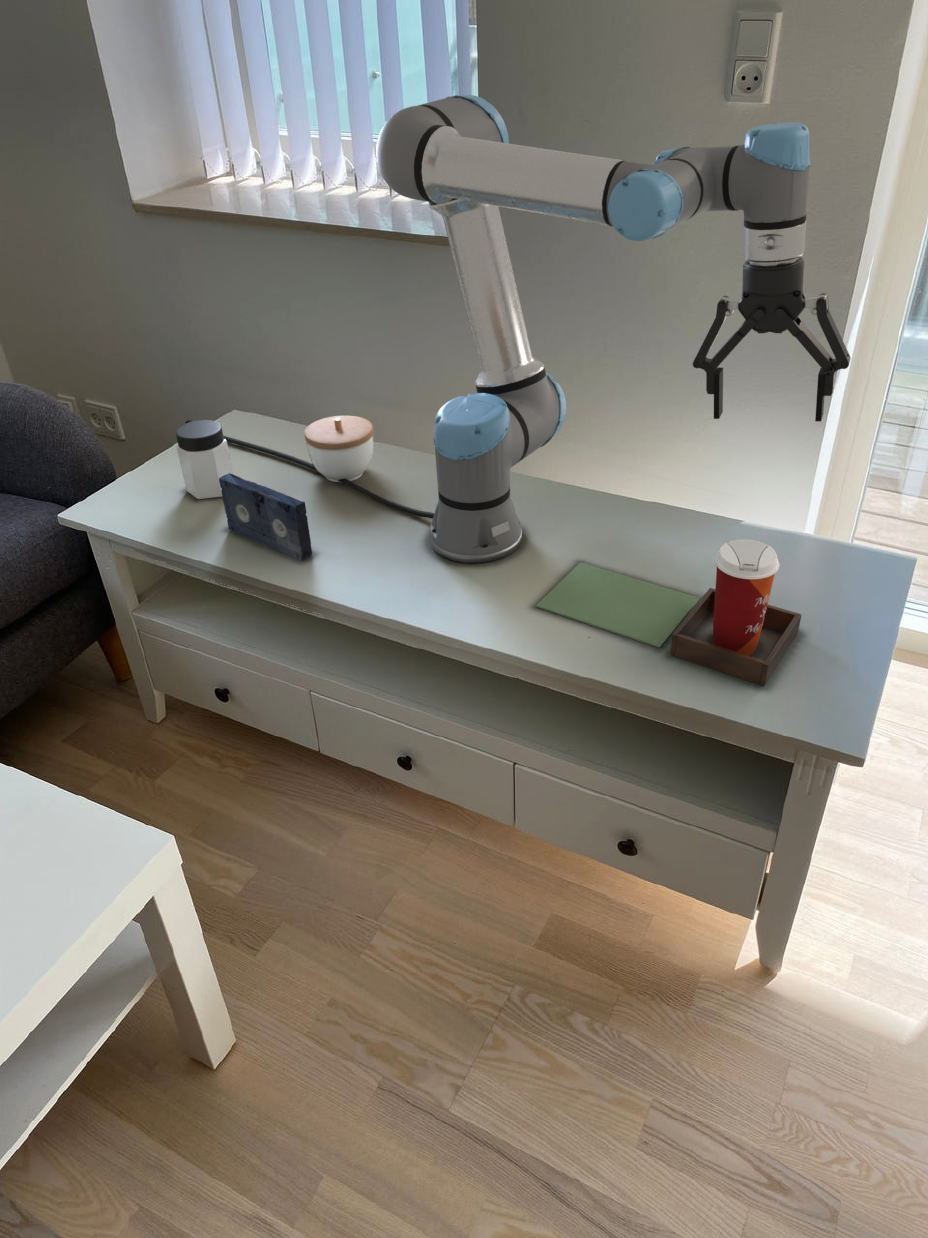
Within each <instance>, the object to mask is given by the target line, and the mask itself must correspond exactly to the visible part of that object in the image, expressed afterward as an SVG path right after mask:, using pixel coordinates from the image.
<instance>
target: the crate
mask: <svg viewBox="0 0 928 1238" xmlns="http://www.w3.org/2000/svg"><path fill="white" fill-rule="evenodd" d="M714 604H715V588H713V587H709V588H708V589H707V591H706V592H705V593H704V594H703V596H702V597H701V598H700V599H699V600H698V602H697V603H696V604H695V605H694V607H693V608H692V609H691V610H690V612H689V613H688V614H687V615H686V617H685V618H684V619H683V620H682V621H681V623H680V624H679V625H678V626H677V628H676V629H675V630H674V631H673V633H672V634H671V641H670V642H671V643H670V651H669V655H670V656H673V657H675V658H679V659H682V660H685V661H687V662H691V663H693V664H696V665H700V666H703V667H706V668H709V669H712V670H715V671H718V672H720V673H724V674H727V675H730V676H733V677H737V678H739V679H742V680H745V681H749V682H750V683H754V684H757V685H760V686H763V687H765V686H766V685H767V683H768V681H769V680H770V679H771V678H772V676H773V674H774V672H775V670H777V667H778V666H779V664H780V663H781V661H782V660H783V658H784V657H785V655H786V654H787V652H788V651H789V649H790V647H791V646H792V644H793V643H794V642H795V639H796V638H797V637H798V635H799V630H800V625H801V620H802V613H798V612H795V611H791V610H788V609H785V608H781V607H778V606H776V605H775V606H774V605H772V604H768V605H767V609H766V613H765V617H764V621H763V625H762V628H764V629H765V628H766V629H769V630H772V631H776V632H779V633H782V634H781V636H780V637H779V638H778V641H777V642H776V643H775V645H774V646H773V648H772V650H771V651H770V653H769V655H768V656H767V657H766V659H765V660H763V659H760V658H757V657H753V656H751V655H749V656H747V655H744V654H741V653H738V652H735V651H732V650H729V649H726V648H722V647H719V646H716V645H713V643H709V642H707V641H703V640H701V639H697V638H694V637H692V634H693V633H694V632H695V630H697V628H698V627H699V626H700V624H701V623H702V622H703V620H704V619H705V618H706V617H707V616H708V614H709V613H710V612H713V613H714Z"/></svg>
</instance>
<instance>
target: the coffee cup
mask: <svg viewBox="0 0 928 1238" xmlns="http://www.w3.org/2000/svg"><path fill="white" fill-rule="evenodd" d="M714 564H715V566H716V571H715V572H716V574H715V588H714V589H715V604H714V612H713V622H712V625H713V626H712V644H713V645H716V646H719V647H722V648H726V649H729V650H732V651H735V652H738V653H741V654H744V655H747V656H752V655H753V654H754V653H756V650H757V647H758V644H759V641H760V637H761V633H762V629H763V627H762V625H763V621H764V617H765V613H766V609H767V605H769V601H770V596H771V592H772V587H773V583H774V579H775V575H776V573H777V572H778V570H779V569H780V561H779V559H778V555H777V552H776V550H775V549H774V548H773V547H772V546H771V545H768V544H767V543H765V542H762V541H758V540H755V539H745V538H743V539H735V540H730V541H728V542H727V541H726V542H725V543H724V544H723V545H722V546H721V547H720V548H719V550H718V552H717V553H716V554H715V556H714Z"/></svg>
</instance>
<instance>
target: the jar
mask: <svg viewBox="0 0 928 1238" xmlns="http://www.w3.org/2000/svg"><path fill="white" fill-rule="evenodd" d="M192 421H193V422H189V423H186V422H185V423H186V424H185V423H183V424H182V425H180V426H179V427H177V428H176V430H175V437H176V441H177V444H176V445H175V446H176V451H177V455H178V459H179V465H180V469H181V474H182V477H183V481H184V486H185V490H186V492H188V493H189V494H190V495H191V496H193V497H194V498H196V500H204V499H205V500H206V499H214V498H221V497H222V492H221V490H222V488H221V487H220V482H219V478H220V477H222V476H224V475H226V474H228V473H230V474H233V475H234V472H233V465H232V461H231V457H230V456H231V455H230V451H229V446H228V442H227V440H226V439H224V437H223V436H224V433H223V428H222V424H221V423H220V422H218V421H214V420H211V419H199V420H192ZM222 498H223V497H222Z"/></svg>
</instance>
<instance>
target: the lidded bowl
mask: <svg viewBox="0 0 928 1238" xmlns="http://www.w3.org/2000/svg"><path fill="white" fill-rule="evenodd" d="M303 434H304V440H305V443H306V449H307V453H308V456H309V459H310V461H311V464H313V465H314V467H315V468H316V469H317V470H318V471H319V472H318V473H320V474H321V475H322V476H324V477H325V479H327V481H329V482H333V483H340V482H339V481H338V480H340V479H347V480H349V481H351V482H353V481H356V480H358V479H360V478H361V477H362V476H363V475H364V472H365V471H366V470H367V469H368V468H369V466H370V464H371V462H372V459H373V456H374V447H375V442H374V441H375V440H374V425H373V424H372V422H371V421H370V420H368V419H366V418H364V417H362V416H361V417H360V416H357V415H333V416H328V417H324V418H320V419H318V420H315V421H313V422H312V423H310V424H309V425H307V427H306V428H305V430H304V433H303Z"/></svg>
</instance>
